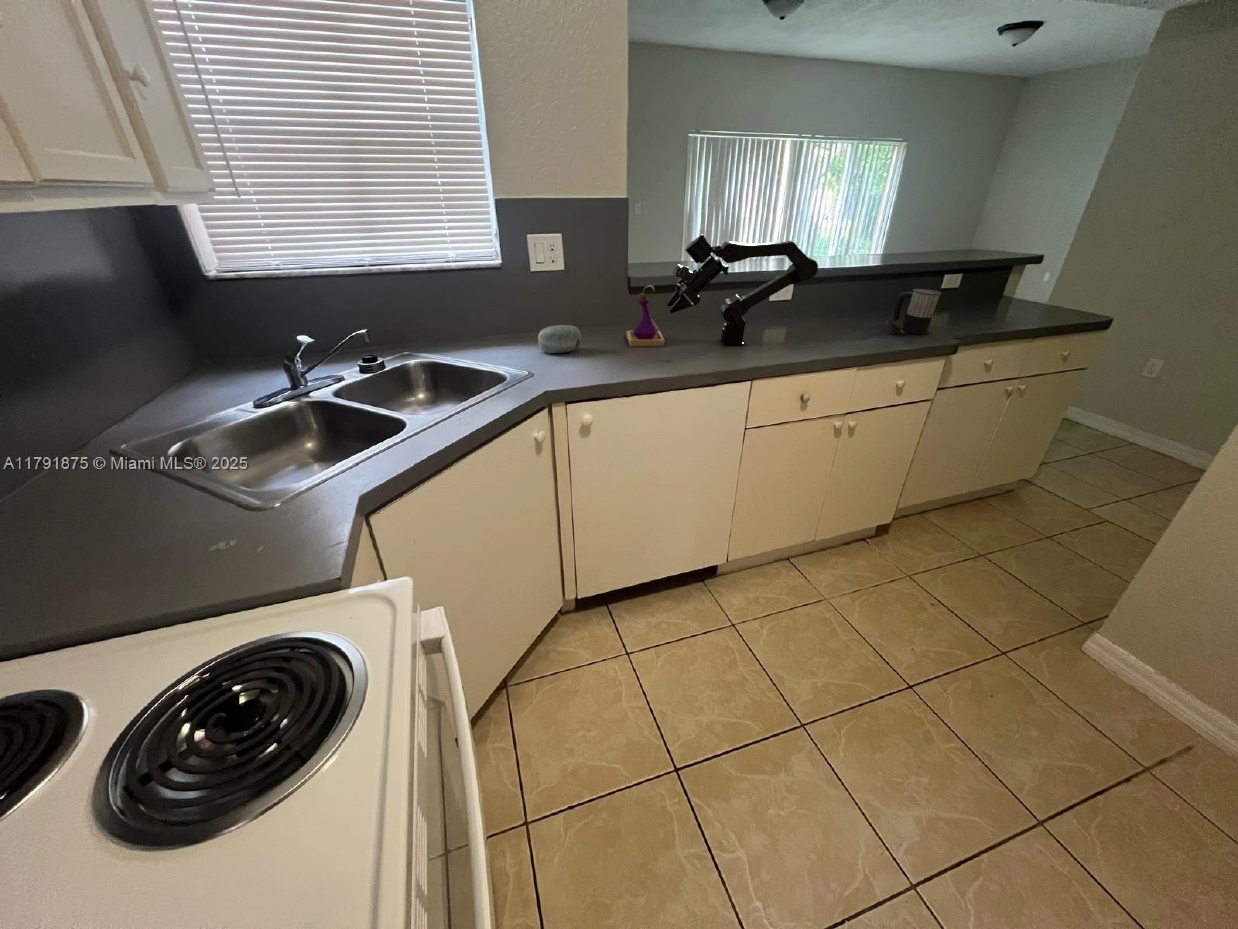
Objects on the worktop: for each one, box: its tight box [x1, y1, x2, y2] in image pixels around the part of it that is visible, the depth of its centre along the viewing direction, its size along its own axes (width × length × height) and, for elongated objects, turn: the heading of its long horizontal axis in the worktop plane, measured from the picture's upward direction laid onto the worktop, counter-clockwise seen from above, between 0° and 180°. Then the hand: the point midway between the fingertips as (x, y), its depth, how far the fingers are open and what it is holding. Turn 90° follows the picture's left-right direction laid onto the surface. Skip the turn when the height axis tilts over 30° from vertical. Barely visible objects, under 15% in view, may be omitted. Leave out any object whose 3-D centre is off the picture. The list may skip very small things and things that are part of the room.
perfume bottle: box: [632, 284, 660, 340], centre depth 163 cm, size 8×8×18 cm
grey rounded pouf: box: [537, 324, 582, 354], centre depth 154 cm, size 14×10×10 cm
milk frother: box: [886, 288, 942, 335], centre depth 180 cm, size 14×16×15 cm
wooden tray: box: [626, 330, 666, 347], centre depth 167 cm, size 12×12×2 cm
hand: (668, 308), depth 162 cm, fingers open, 9 cm apart
